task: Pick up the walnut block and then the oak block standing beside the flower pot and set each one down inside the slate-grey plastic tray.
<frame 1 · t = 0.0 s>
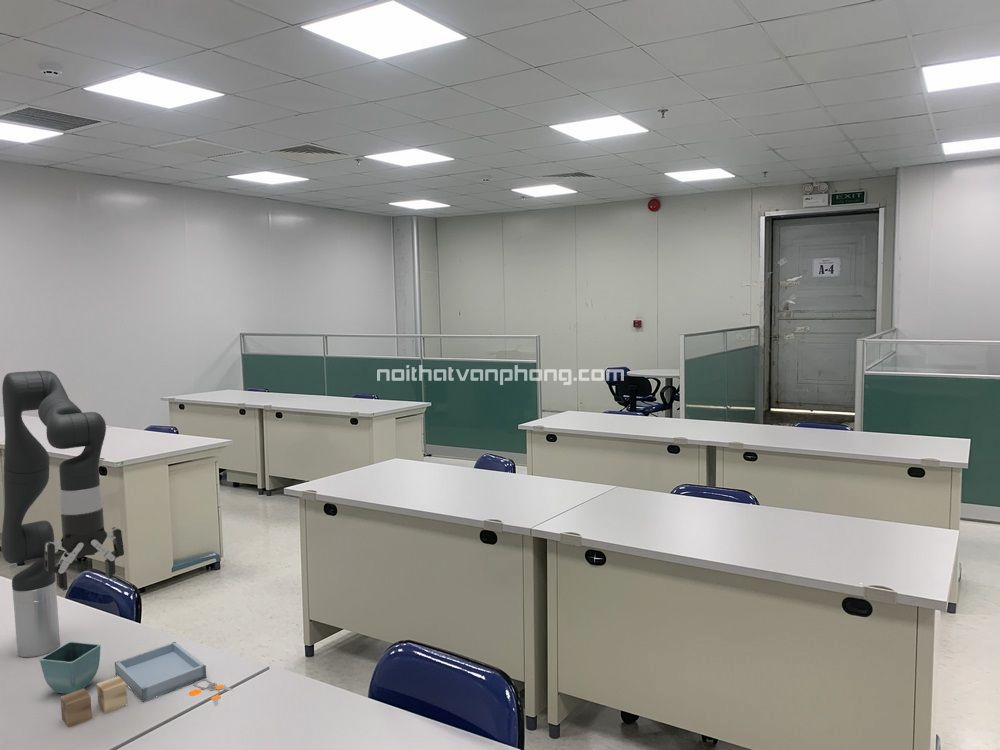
hand: (87, 583, 146), 29 cm above the table, tool pointing down, fingers open, 8 cm apart
key chain: (211, 694, 158), on the table
tray: (160, 675, 165), on the table
oak block: (112, 705, 153), on the table
flower pot: (73, 689, 160), on the table
walnut block: (77, 718, 148), on the table
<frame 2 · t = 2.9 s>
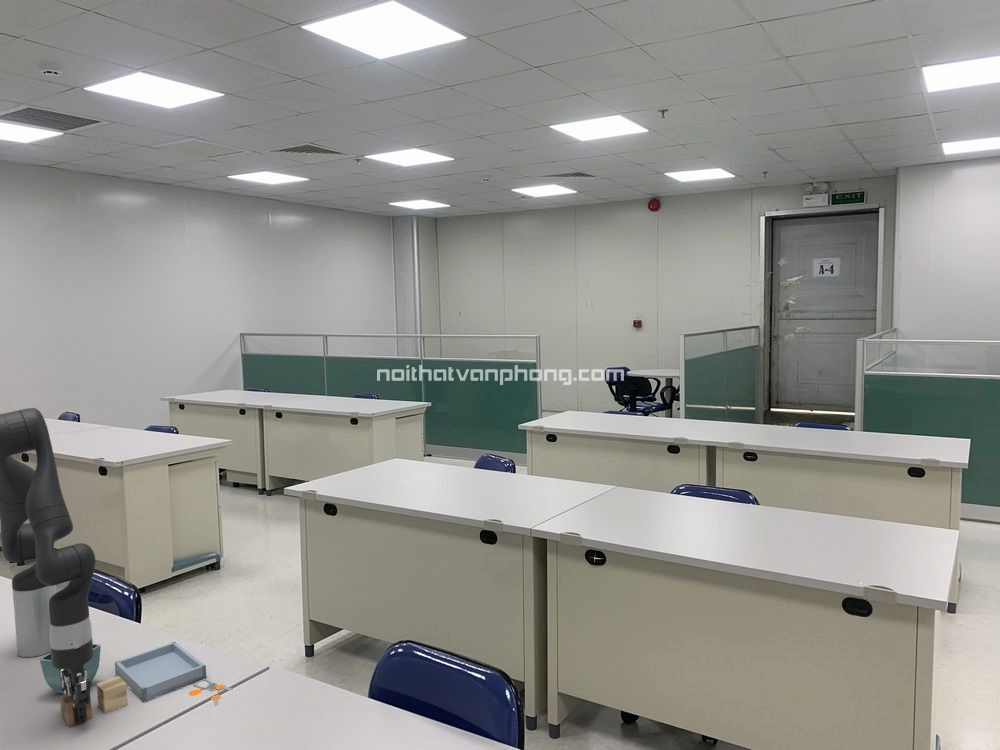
hand: (76, 716, 148), 0 cm above the table, tool pointing down, fingers closed on walnut block, 4 cm apart
walnut block: (77, 718, 148), on the table, touching gripper
everything else where it was.
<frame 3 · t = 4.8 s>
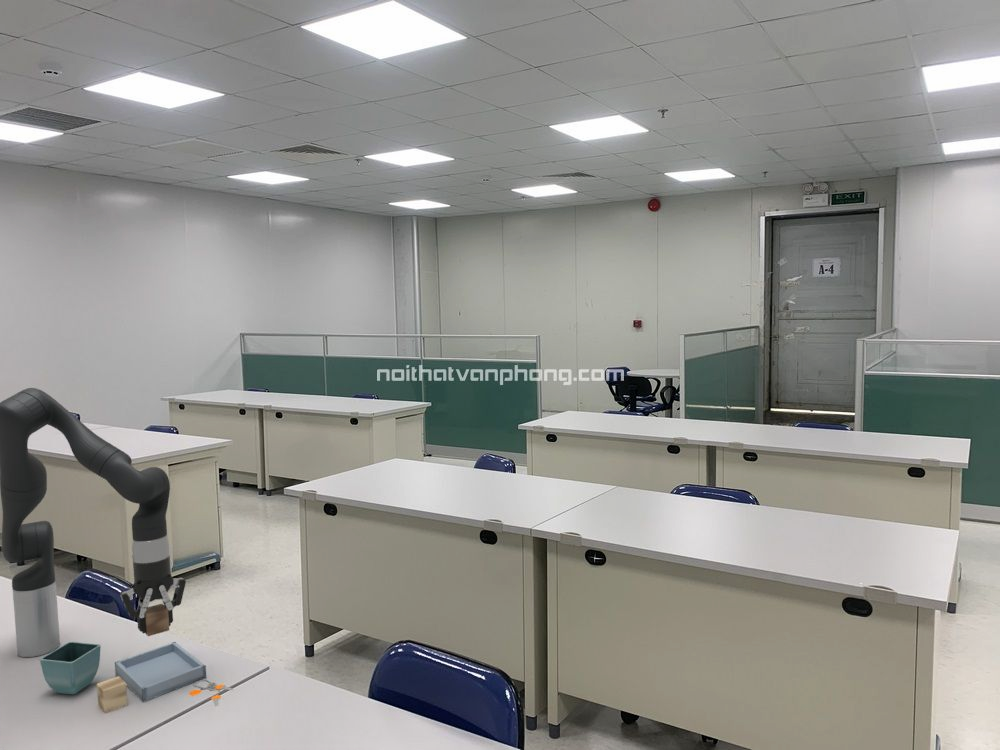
hand: (156, 628, 160), 14 cm above the table, tool pointing down, fingers closed on walnut block, 4 cm apart
walnut block: (155, 630, 160), point 13 cm above the table, touching gripper
everything else where it was.
when the fingers open (3 cm above the table, at t = 6.9 s): walnut block drops 2 cm, resting on tray.
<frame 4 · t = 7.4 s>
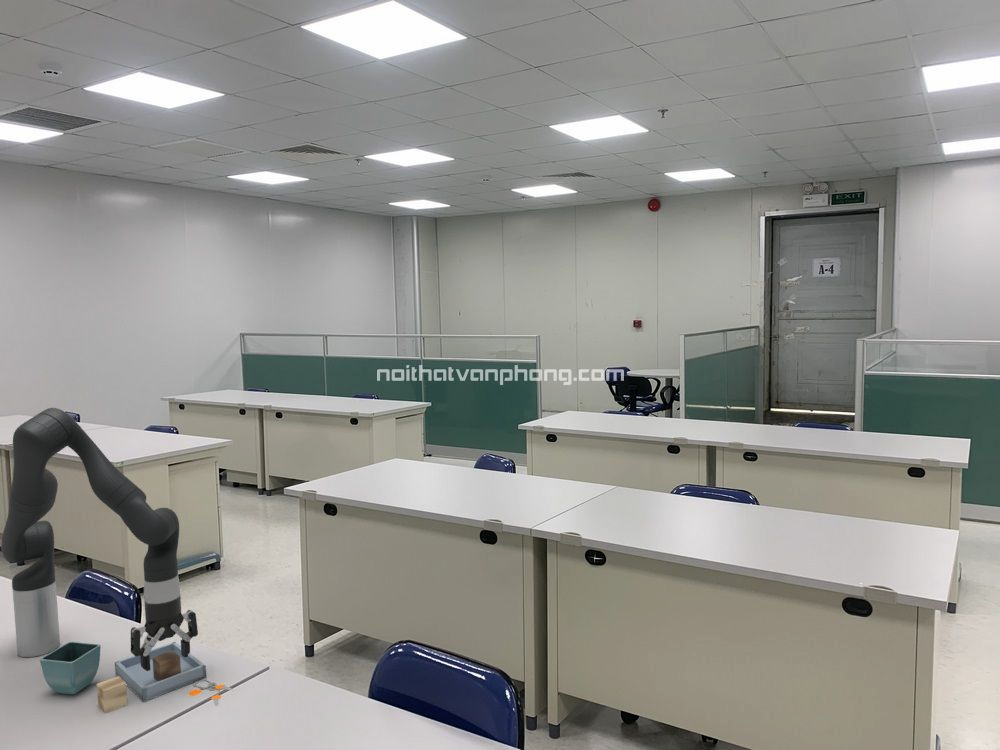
hand: (166, 662, 162), 5 cm above the table, tool pointing down, fingers open, 8 cm apart
walnut block: (167, 677, 162), point 1 cm above the table, touching tray
everything else where it was.
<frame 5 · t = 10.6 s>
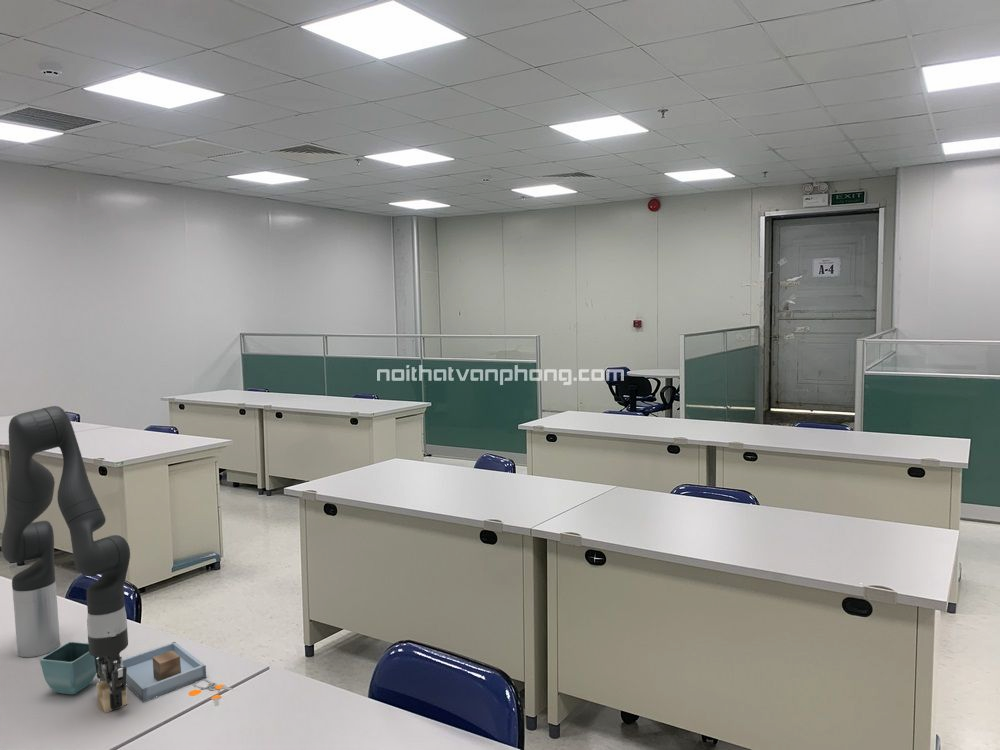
hand: (112, 703, 153), 0 cm above the table, tool pointing down, fingers closed on oak block, 4 cm apart
oak block: (112, 704, 153), on the table, touching gripper
everything else where it was.
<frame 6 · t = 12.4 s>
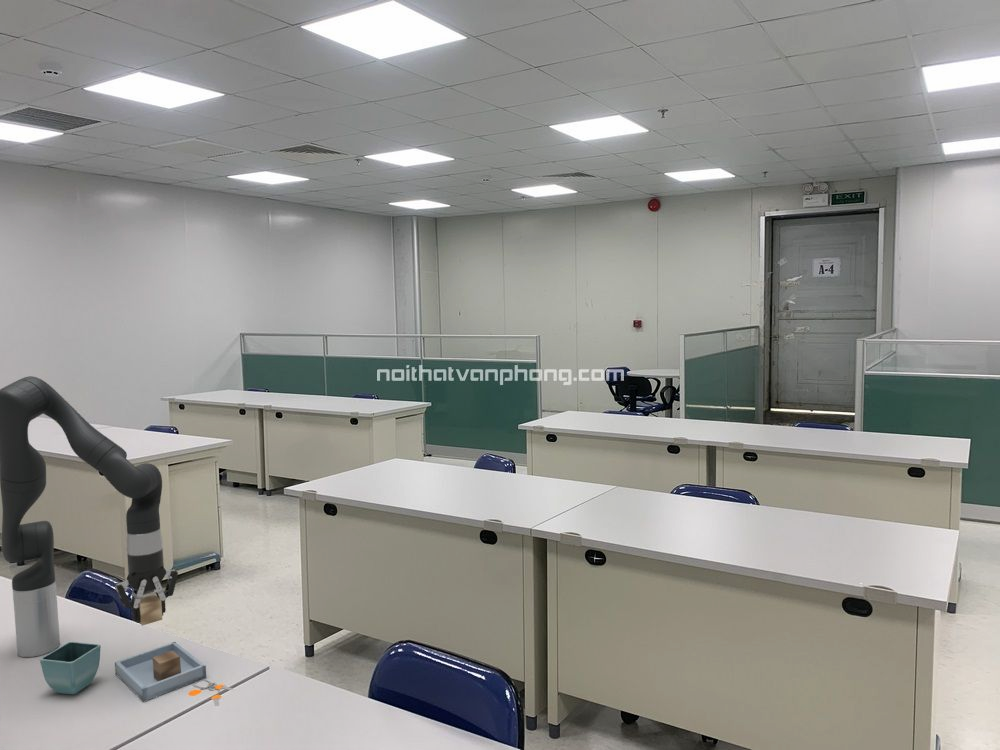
hand: (149, 617, 166), 13 cm above the table, tool pointing down, fingers closed on oak block, 4 cm apart
oak block: (149, 619, 166), point 13 cm above the table, touching gripper
everything else where it was.
when the fingers open (3 cm above the table, at t = 14.4 s): oak block drops 2 cm, resting on tray.
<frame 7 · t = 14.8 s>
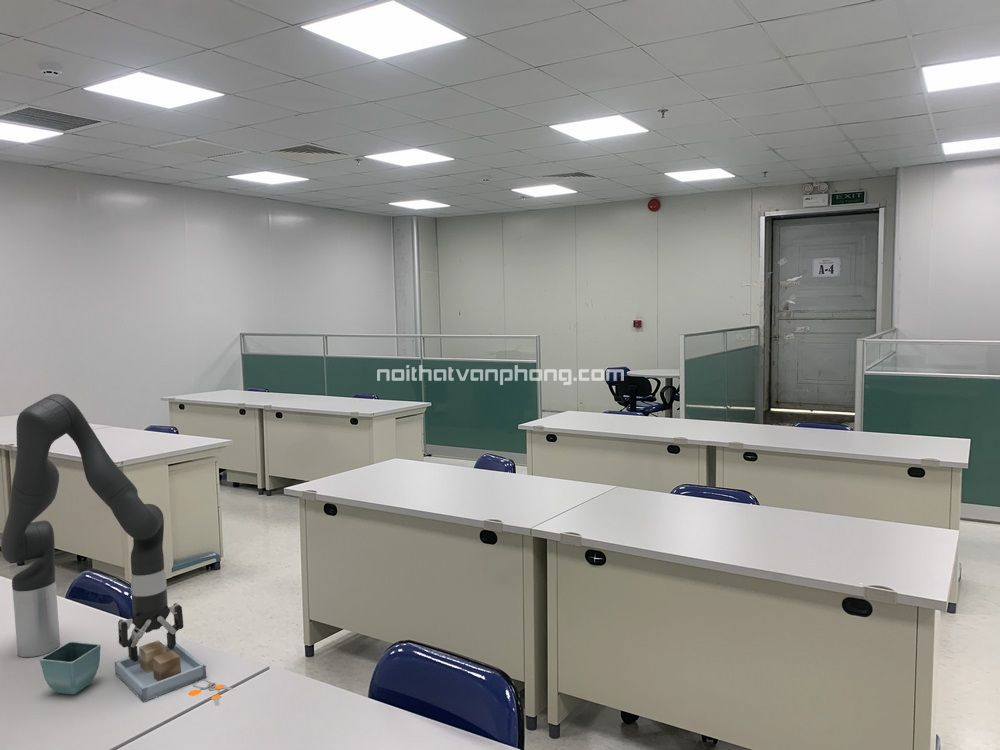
hand: (153, 654, 168), 4 cm above the table, tool pointing down, fingers open, 8 cm apart
oak block: (153, 666, 168), point 1 cm above the table, touching tray
everything else where it was.
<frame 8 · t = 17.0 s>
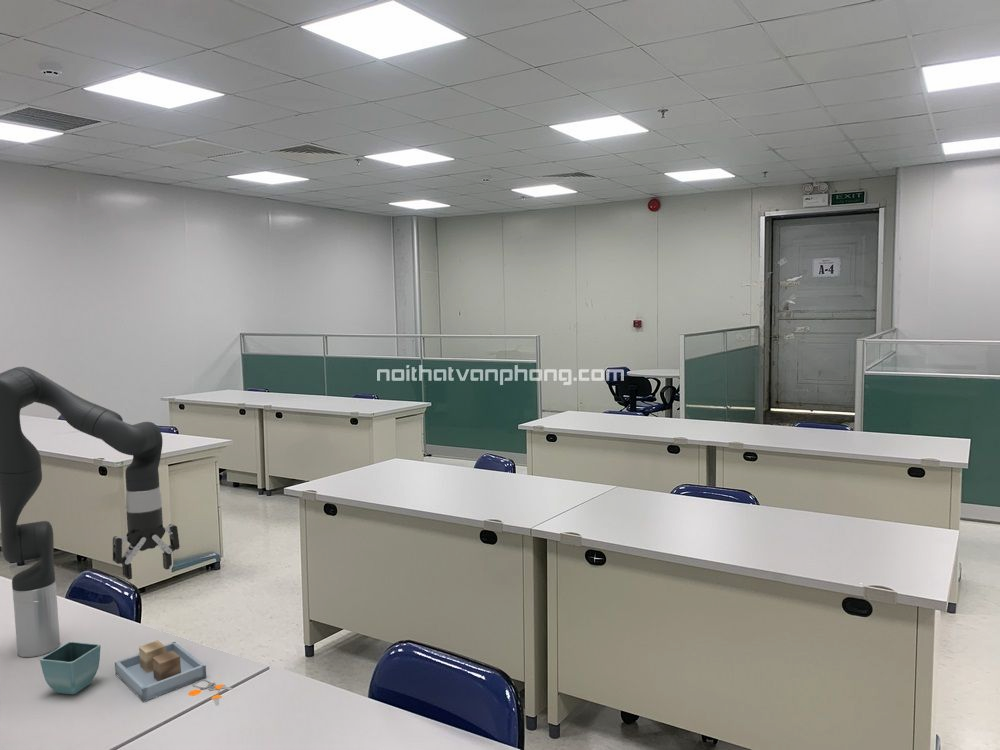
hand: (148, 573, 166), 24 cm above the table, tool pointing down, fingers open, 8 cm apart
nothing on the table moved.
at the end: walnut block inside the target area on the tray (4.0 cm from its centre), point 1.0 cm above the tray's base; oak block inside the target area on the tray (4.0 cm from its centre), point 1.0 cm above the tray's base; the gripper is holding nothing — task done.
